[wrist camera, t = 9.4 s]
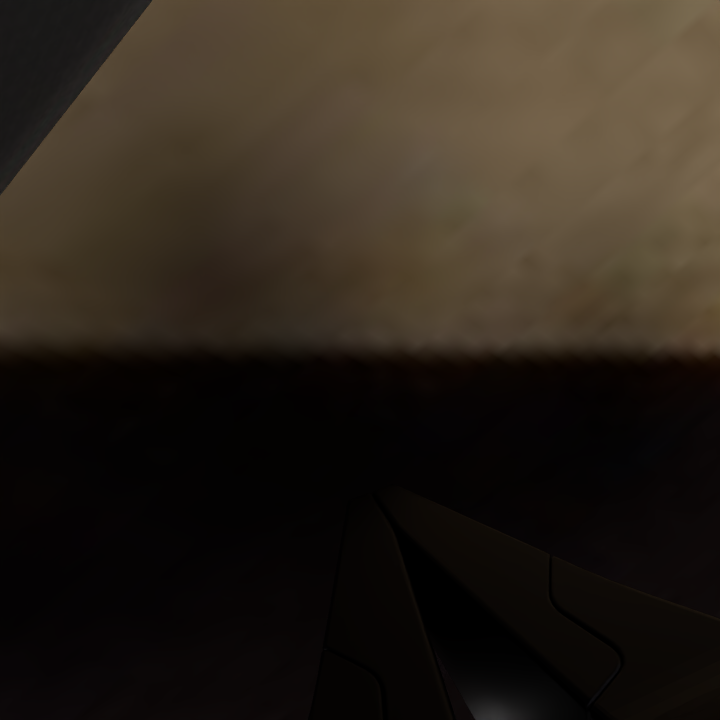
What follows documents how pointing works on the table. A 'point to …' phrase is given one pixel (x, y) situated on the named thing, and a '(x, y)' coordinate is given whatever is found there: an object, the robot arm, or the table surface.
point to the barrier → (50, 65)
